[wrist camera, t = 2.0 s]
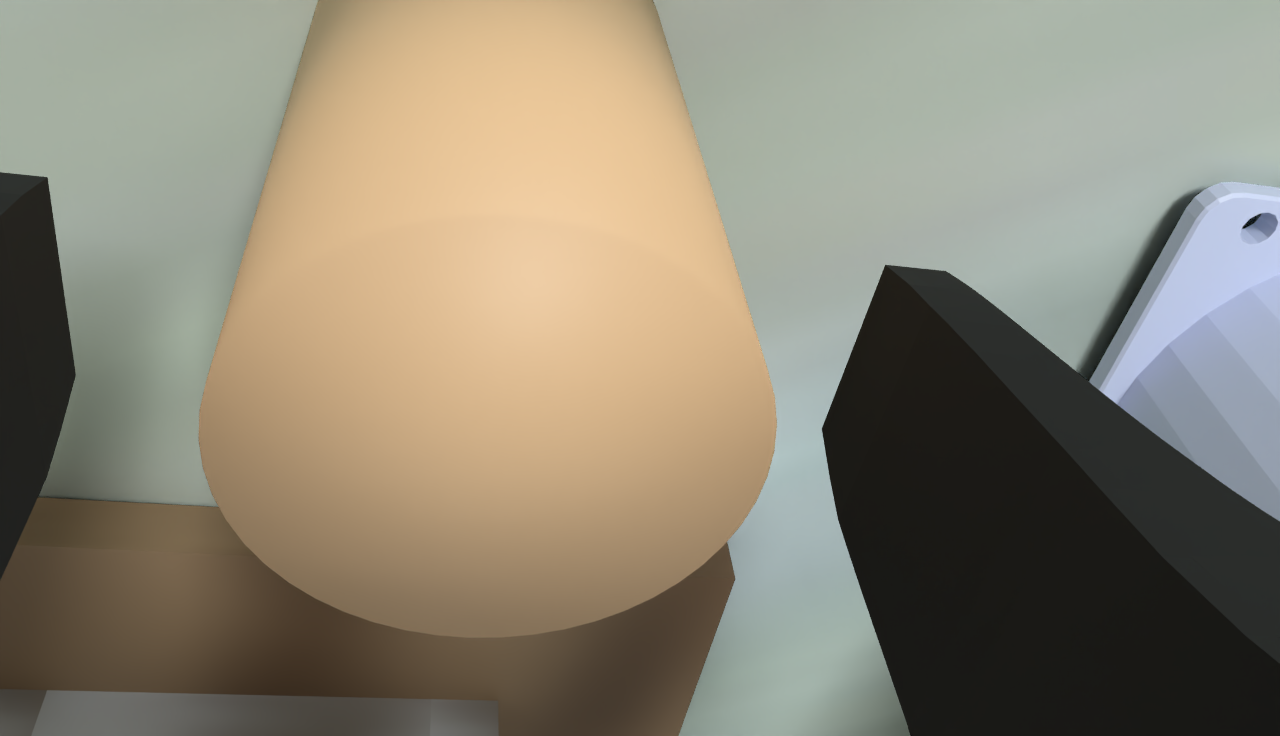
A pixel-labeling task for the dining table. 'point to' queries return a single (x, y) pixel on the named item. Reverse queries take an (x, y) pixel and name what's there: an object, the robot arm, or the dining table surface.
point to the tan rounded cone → (486, 325)
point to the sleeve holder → (303, 646)
